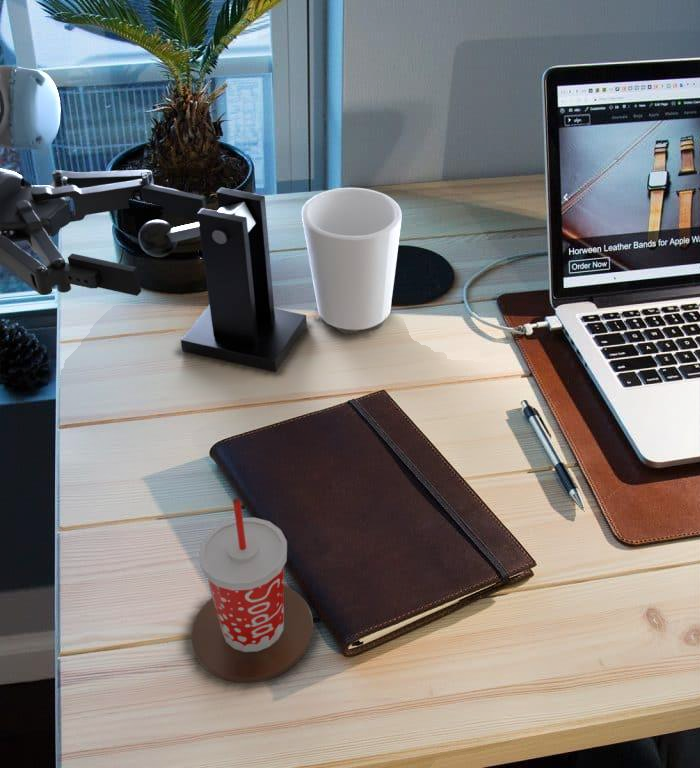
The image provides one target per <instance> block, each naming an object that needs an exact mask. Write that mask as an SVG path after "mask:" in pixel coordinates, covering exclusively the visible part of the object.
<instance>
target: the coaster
mask: <svg viewBox="0 0 700 768" xmlns="http://www.w3.org/2000/svg"><path fill="white" fill-rule="evenodd" d="M313 633H314V618H313V614H312V610H311V609H310V606H309V604H308V602H306V600H305V599H304V598H303V597H302V596H301V594H299V593H298V592H297V591H296V590H294V589H292V588H291V587H288V586H286V585H284V626H283V632H282V633H281V635H280V637H279V639H278V640H277V641H276V642H274V643H273V644H272V645H271V646H270V647H268V648H265V649H262V650H260V651H256V652H243V651H240V650H236V649H234V648H233V647H231V646H230V645H229V644H228V643H226V641H225V638H224V636H223V634H222V630H221V626H220V623H219V619H218V615H217V612H216V608H215V604H214V601H213V597H211V598H210V599H209V600H208V601H207V602H206V603H205V604H204V605H203V606H202V607H201V609H200V610H199V612H198V613H197V614H196V617H195V619H194V622H193V625H192V629H191V643H192V649H193V652H194V655H195V657H196V659H197V660H198V663H200V664H201V666H202V667H203V668H204V669H205V670H206V671H208V672H209V673H211V674H212V675H213V676H214V677H217V678H220V679H223V680H224V681H228V682H232V683H243V684H244V683H246V684H247V683H258V682H262V681H266V680H270V679H273V678H276V677H277V676H279V675H281V674H283V673H285V672H287V671H288V670H289V669H291V668H292V667H294V666H295V665H296V664H297V663H298V662H299V661H300V660H301V659H302V657H303V656H304V654H305V653H306V652H307V650H308V648H309V647H310V644H311V642H312V638H313V635H314V634H313Z"/></svg>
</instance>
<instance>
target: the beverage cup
mask: <svg viewBox="0 0 700 768" xmlns="http://www.w3.org/2000/svg"><path fill="white" fill-rule="evenodd" d="M232 505H233V510H234V512H233V513H234V519H230V520H227V521H224V522H221V523H219V524H218V525H217V526H216V527H214V528H213V529H211V530H209V531H208V532H207V534H206V535H205V537H204V538H203V540H202V541H201V543H200V544H199V549H198V557H197V559H198V561H199V566H200V568H201V570H202V573H203V575H204V578H206V579H207V582H208V586H209V590H210V593H211V596H212V597H213V601H214V604H215V608H216V612H217V615H218V619H219V623H220V626H221V630H222V634H223V636H224V638H225V641H226V643H228V644H229V645H230V646H231V647H233V648H234V649H236V650H240V651H243V652H256V651H260V650H262V649H265V648H268V647H270V646H271V645H272V644H273V643H274V642H276V641H277V640H278V639H279V637H280V635H281V633H282V632H283V626H284V586H285V581H284V580H285V564H286V563H287V561H288V559H287V558H288V554H287V553H288V540H287V539H286V537H285V535H284V533H283V531H282V529H281V528H279V527H278V526H277V525H275V524H273V522H271V521H269V520H266V519H261V518H258V517H243V511H242V502H241V499H240V498H239V497H235V498H233V500H232ZM212 597H211V598H212Z"/></svg>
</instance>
